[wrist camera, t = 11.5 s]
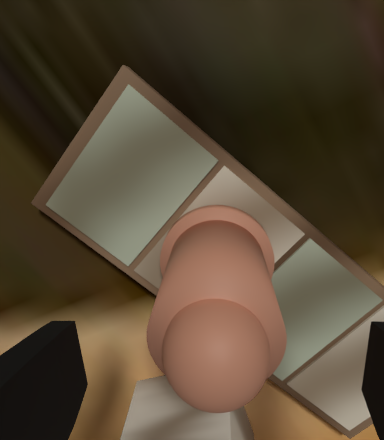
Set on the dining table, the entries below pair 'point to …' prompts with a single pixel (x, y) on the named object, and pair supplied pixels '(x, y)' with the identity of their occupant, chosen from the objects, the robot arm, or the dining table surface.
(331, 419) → the board
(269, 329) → the pawn
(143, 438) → the die
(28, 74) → the dining table surface
